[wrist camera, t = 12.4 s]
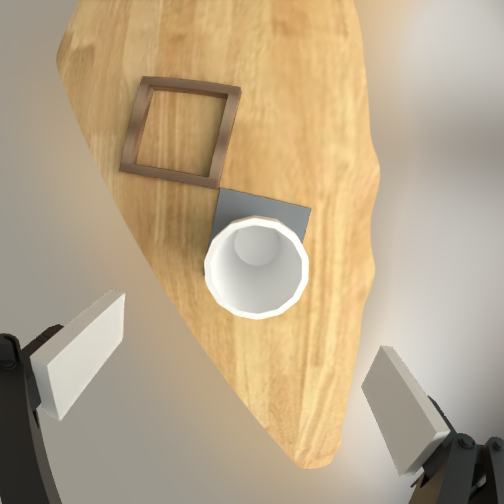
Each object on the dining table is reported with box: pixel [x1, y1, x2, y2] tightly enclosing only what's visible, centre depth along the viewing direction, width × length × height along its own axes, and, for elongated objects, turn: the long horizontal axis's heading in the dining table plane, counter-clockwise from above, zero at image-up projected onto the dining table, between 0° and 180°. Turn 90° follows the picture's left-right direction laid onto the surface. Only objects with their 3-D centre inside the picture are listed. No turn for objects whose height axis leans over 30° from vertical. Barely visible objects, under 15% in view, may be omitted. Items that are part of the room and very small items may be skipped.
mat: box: [203, 188, 311, 275], centre depth 39 cm, size 12×12×1 cm
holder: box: [119, 76, 241, 189], centre depth 35 cm, size 13×13×2 cm
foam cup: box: [204, 215, 308, 320], centre depth 33 cm, size 10×9×13 cm
